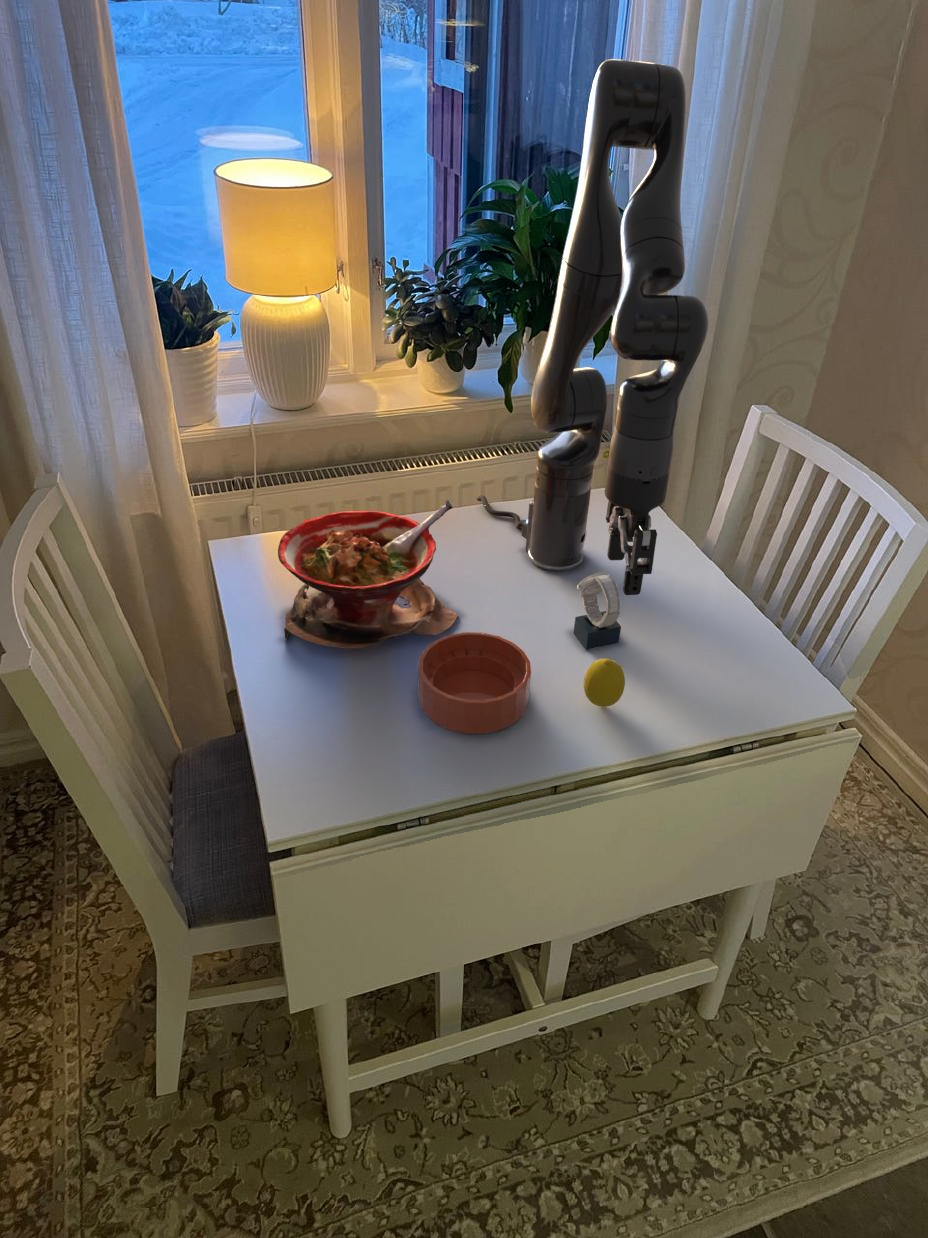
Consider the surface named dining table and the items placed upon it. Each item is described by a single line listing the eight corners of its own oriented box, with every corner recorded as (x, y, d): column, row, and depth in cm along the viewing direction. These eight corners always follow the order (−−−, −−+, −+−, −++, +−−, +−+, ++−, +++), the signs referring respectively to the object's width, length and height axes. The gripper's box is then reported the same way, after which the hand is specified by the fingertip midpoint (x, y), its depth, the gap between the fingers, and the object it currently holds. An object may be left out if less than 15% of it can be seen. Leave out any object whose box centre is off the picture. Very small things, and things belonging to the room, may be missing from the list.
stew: (433, 559, 159) (434, 474, 150) (478, 641, 141) (482, 550, 131) (268, 583, 152) (258, 495, 142) (292, 673, 133) (283, 579, 124)
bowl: (397, 689, 131) (397, 656, 128) (483, 652, 138) (485, 620, 135) (461, 752, 121) (462, 718, 118) (550, 709, 129) (553, 675, 125)
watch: (599, 619, 146) (608, 560, 140) (624, 649, 140) (634, 589, 134) (567, 626, 145) (574, 566, 138) (590, 656, 138) (599, 595, 132)
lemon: (619, 721, 127) (627, 676, 122) (578, 715, 128) (585, 669, 123) (622, 695, 131) (629, 651, 127) (582, 689, 132) (589, 645, 128)
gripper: (596, 439, 119) (583, 549, 128) (623, 490, 107) (607, 607, 116) (653, 438, 119) (637, 547, 129) (686, 489, 108) (665, 605, 117)
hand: (623, 575), depth 123 cm, fingers open, 8 cm apart
